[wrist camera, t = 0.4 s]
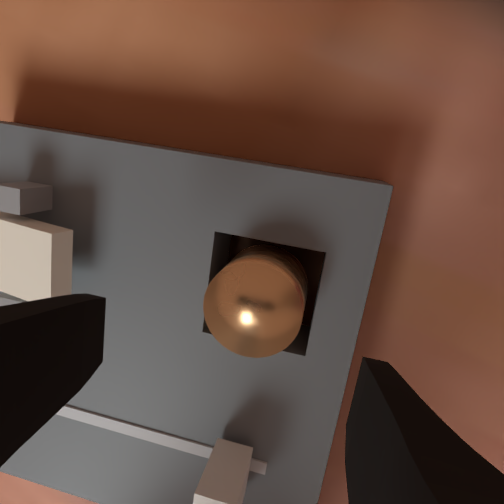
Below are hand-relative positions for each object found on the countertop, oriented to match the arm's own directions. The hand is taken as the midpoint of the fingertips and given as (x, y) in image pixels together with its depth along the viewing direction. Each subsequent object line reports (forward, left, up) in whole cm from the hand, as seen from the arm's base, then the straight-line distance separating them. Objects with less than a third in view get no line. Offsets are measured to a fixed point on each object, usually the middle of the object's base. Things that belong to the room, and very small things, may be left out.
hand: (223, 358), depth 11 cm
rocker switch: (0, +10, -4) cm, 11 cm away
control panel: (-4, +5, -8) cm, 11 cm away
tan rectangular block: (-8, 0, -5) cm, 9 cm away
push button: (0, 0, -7) cm, 7 cm away
